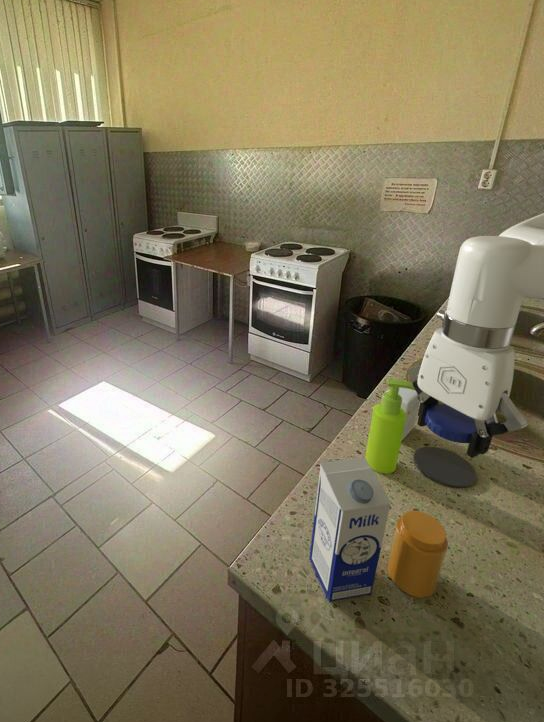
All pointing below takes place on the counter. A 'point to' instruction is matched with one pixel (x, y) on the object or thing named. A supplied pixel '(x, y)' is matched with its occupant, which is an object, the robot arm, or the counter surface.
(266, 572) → the counter surface
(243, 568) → the counter surface
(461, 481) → the coaster
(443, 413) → the lid
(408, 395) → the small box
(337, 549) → the milk carton
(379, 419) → the soap dispenser
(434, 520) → the jar
